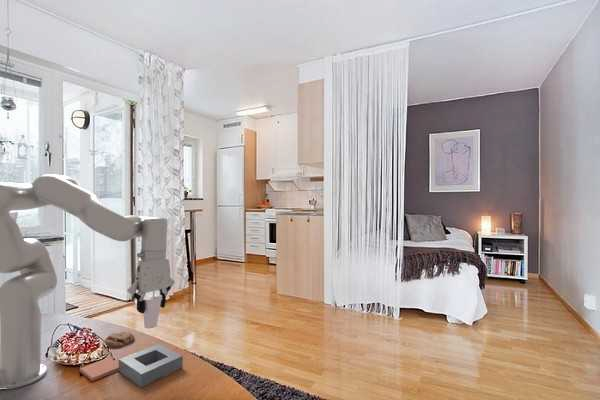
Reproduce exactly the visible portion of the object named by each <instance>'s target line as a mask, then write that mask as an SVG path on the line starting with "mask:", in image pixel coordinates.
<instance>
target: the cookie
mask: <svg viewBox="0 0 600 400" xmlns="http://www.w3.org/2000/svg"><path fill="white" fill-rule="evenodd" d="M103 341H104V342H105V343H106V344H107V345H108V347H107V348H110V349H117V348H123V347H124V346H127V345H129V344H131V343H132V342H133V341H135V335H134V333H131V332H128V331H127V332H126V331H122V332H117V333H111V334H109V335H108V336H106V338H105V339H104V340H103Z"/></svg>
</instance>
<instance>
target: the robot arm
mask: <svg viewBox="0 0 600 400" xmlns="http://www.w3.org/2000/svg"><path fill="white" fill-rule="evenodd" d="M47 206H53V207H56V208H57V209H60V210H61V211H64V212H66V213H68V214H70V215H72V216H74V217H75V218H77V219H79V220H80V221H81V222H82V223H84V224H85V226H87V227H88V228H90V229H91V230H92V231H94V232H97V233H99V234H100V235H102V236H105V237H106V238H109V239H111V240H113V241H116V242H127V241H130V240H132V239H135V238H141V239H140V241H141V243H140V247H141V248H140V252H137V253H136V257H137V258H139V260H138V262H137V266H136V269H135V278H134V282H133V283H132V284H131V286H129V288H128V289H127V290H126V292H127V293H129V295H131V296H132V298H134V299H135V300H136V310H137V312H138V313H140V314H143V313H144V312H145V301H144V300H143V299H144V297H145V295H147V293H150V292H151V293H153V291H155V292H156V291H159V294H160V295H162V300H161V304H160V308H162V309H164V308H165V307H166V303H167V302H166V299H167V296H168V293H169V291H170V290H171V289H172V287H173V286H174V284H175V283H176V281H175V280H174V279H173V278H171V267H170V261H169V260H170V259H169V258H168V257H167V241H168V237H167V236H168V234H167V233H168V219H166V217H162V216H140V215H134V214H133V215H125V216H123V215H121V214H119V213H117V212H115V211H113V210H111V209H109V208H107V207H106V206H104V205H103V204H102V203H101V202H100V201H99V197H98V195H96V194H95V193H93V192H90V191H89V190H87V189H84V188H82V187H81V186H79V184H78V183H77V181H76V180H75V179H73V178H72V177H70V176H67V175H60V174H54V173H53V174H49V173H48V174H42V175H40V176H38V177H37V178H36V179H35V180H34V181H33V182H29V183H22V182H21V183H19V182H0V273H1V274H12V273H15V272H19V273H20V274H19V275H16V276H14V277H11V278H9V279H8V280H6V281H5V282H3V283H2V284H1V286H0V388H7V389H6V390H13V389H17V388H22V387H24V386H27V385H30V384H33V383H34V382H36V381H38V380H40V379H41V378H42V377H44V376H45V375H46V374H47V372H48V371H47V369H48V367H47V366H46V365H45V364H42V363H41V361H42V359H41V358H42V355H41V354H42V312H41V309H40V307H39V300H42V299H43V298H45V297H47V296H49V295H50V294H51V293H53V292H54V291H55V289H56V287H57V285H58V277H57V273H56V271H55V268H54V265H53V262H52V259H51V256H50V254H49V252H48V251H49V250H48V248H47V247H46V245H44V243H43V242H41V240H39V239H36V238H34V237H33V238H32V237H26V238H23V236H22V232H21V229H20V227H19V224H18V223H17V221H16V220H15V219H14V218H13V217H12V216H11V214H10V212H11V211H25V210H33V209H38V208H41V207H47ZM136 291H137V292H136Z"/></svg>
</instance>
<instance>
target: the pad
mask: <svg viewBox="0 0 600 400" xmlns="http://www.w3.org/2000/svg"><path fill="white" fill-rule="evenodd" d="M118 366H119V362H117V361H116V360H114V359H113V358H112V357H110V356H109V357H107V358H104V359H101V360H99V361H96V362H93V363H90V364H87V365H85V366H83V367H82V366H81V367H79V372H80V373H81V374H82V375H83V376H85V377H86V378H87V379H88V380H90V381H91V382H94V381H96V380H98V379H101V378H103V377H106V376H109V375H111V374H114V373H116V372H118Z"/></svg>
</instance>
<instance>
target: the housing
mask: <svg viewBox="0 0 600 400" xmlns="http://www.w3.org/2000/svg"><path fill="white" fill-rule="evenodd" d="M154 361H155V362H154ZM183 361H184V359H183V355H181V353H178V352H176V351H174V350H172V349H170V348H168V347H167V346H165V345H162V344H160V343H157V344H155V345H153V346H150V347H147V348H145V349H142V350H139V351H136V352H134V353H131V354H129V355H126V356H124V357H123V356H122V357H121V358H118V363H119V366H118V371H117V372H119V373H120V374H121V375H123V376H125V377H126V378H127V379H129V381H131V382H133V383H134V384H135V385H136V386H138V387H140V388H143V387H145V386H147V385H149V384H151V383H150V382H152V383H154V382H155V381H154V380H156V379H158V378H160V377H162V376H164V377H166V376H168V375H170V374H169V373H171V372H173V371H175V372H176V370H177V371H179V370H180V368H181V369H182V368H183ZM178 369H179V370H178ZM173 373H174V372H173ZM167 374H168V375H167ZM171 374H172V373H171ZM165 375H166V376H165ZM162 378H163V377H162ZM160 379H161V378H160ZM158 380H159V379H158ZM153 381H154V382H153ZM156 381H157V380H156Z"/></svg>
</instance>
